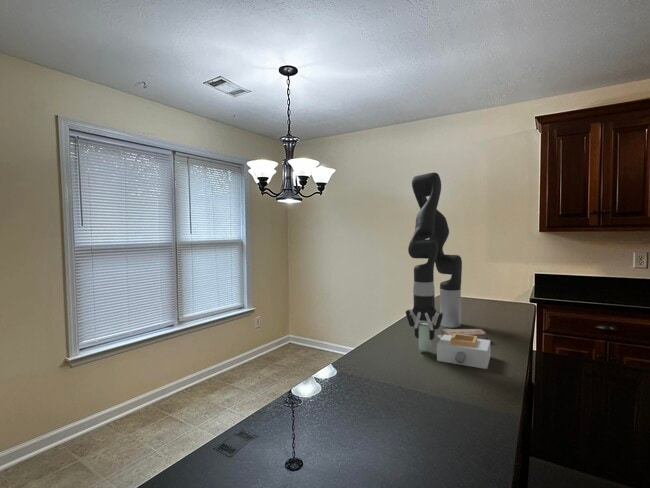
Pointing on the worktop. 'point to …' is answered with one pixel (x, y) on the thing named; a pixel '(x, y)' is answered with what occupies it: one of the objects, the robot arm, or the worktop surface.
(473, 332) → the packaged product
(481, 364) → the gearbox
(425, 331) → the pale green rounded piece
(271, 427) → the worktop surface
